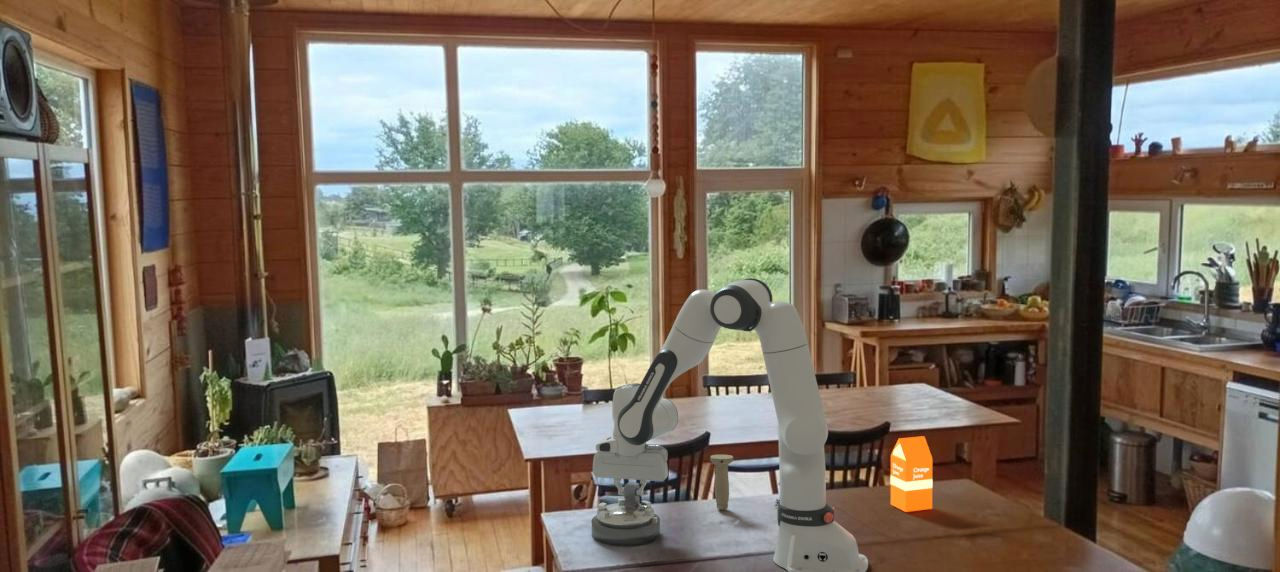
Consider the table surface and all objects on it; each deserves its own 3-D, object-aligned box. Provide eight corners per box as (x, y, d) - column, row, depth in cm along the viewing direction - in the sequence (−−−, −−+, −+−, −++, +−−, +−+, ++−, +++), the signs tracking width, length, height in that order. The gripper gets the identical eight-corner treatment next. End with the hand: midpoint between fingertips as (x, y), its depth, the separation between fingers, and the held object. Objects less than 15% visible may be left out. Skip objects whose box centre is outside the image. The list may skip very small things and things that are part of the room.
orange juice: (890, 504, 262) (890, 435, 261) (916, 500, 265) (916, 433, 264) (905, 512, 255) (906, 441, 254) (932, 508, 258) (933, 439, 256)
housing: (670, 528, 245) (669, 507, 244) (644, 550, 228) (644, 529, 228) (609, 520, 252) (608, 501, 251) (580, 541, 235) (579, 521, 235)
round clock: (662, 513, 244) (662, 483, 243) (640, 531, 230) (640, 500, 229) (611, 507, 249) (611, 478, 249) (587, 524, 236) (586, 494, 235)
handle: (733, 511, 258) (733, 458, 257) (711, 510, 259) (710, 458, 258) (733, 505, 263) (732, 454, 262) (711, 505, 264) (710, 454, 263)
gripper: (670, 443, 243) (671, 494, 243) (597, 439, 248) (598, 489, 249) (664, 448, 237) (665, 501, 237) (590, 444, 242) (591, 496, 243)
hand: (630, 495), depth 243 cm, fingers open, 4 cm apart
